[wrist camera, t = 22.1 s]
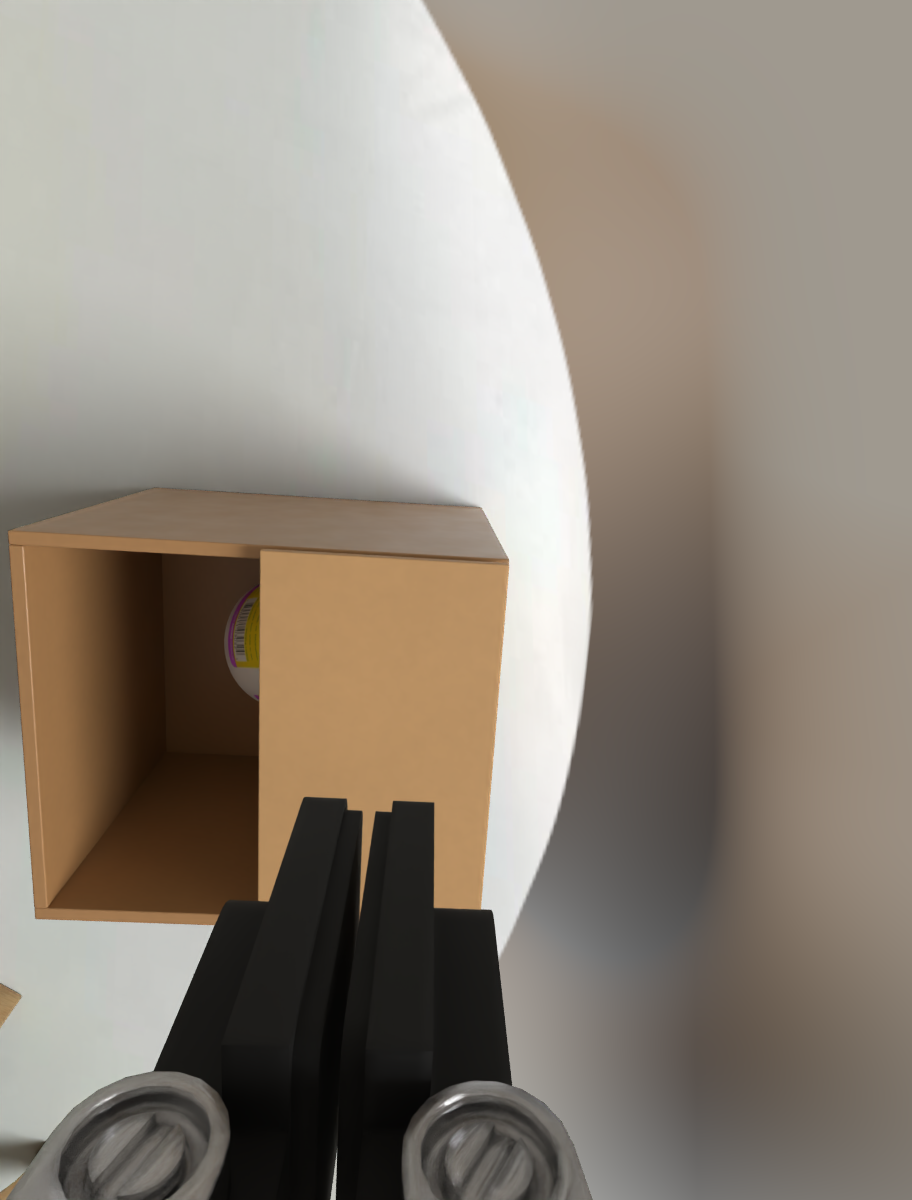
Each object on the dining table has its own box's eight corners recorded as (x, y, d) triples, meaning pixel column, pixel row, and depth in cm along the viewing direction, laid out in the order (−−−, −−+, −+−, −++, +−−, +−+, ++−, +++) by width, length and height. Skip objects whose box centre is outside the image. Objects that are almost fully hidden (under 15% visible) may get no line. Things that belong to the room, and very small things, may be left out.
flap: (508, 562, 27) (509, 565, 26) (477, 940, 30) (477, 947, 30) (262, 548, 26) (259, 550, 26) (259, 932, 30) (257, 939, 30)
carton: (481, 507, 41) (509, 559, 27) (462, 769, 45) (478, 935, 31) (153, 487, 40) (6, 530, 26) (160, 755, 44) (34, 919, 30)
